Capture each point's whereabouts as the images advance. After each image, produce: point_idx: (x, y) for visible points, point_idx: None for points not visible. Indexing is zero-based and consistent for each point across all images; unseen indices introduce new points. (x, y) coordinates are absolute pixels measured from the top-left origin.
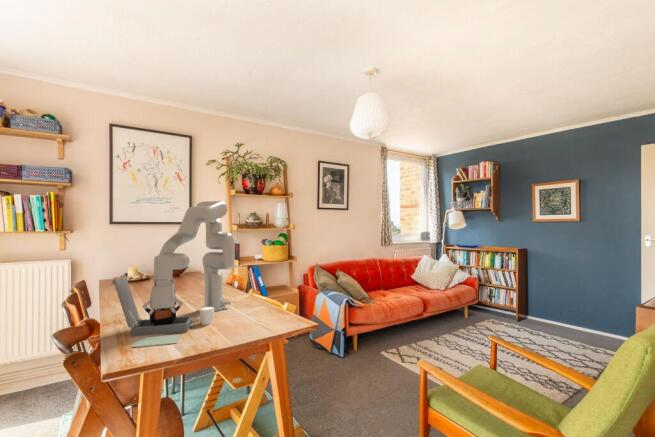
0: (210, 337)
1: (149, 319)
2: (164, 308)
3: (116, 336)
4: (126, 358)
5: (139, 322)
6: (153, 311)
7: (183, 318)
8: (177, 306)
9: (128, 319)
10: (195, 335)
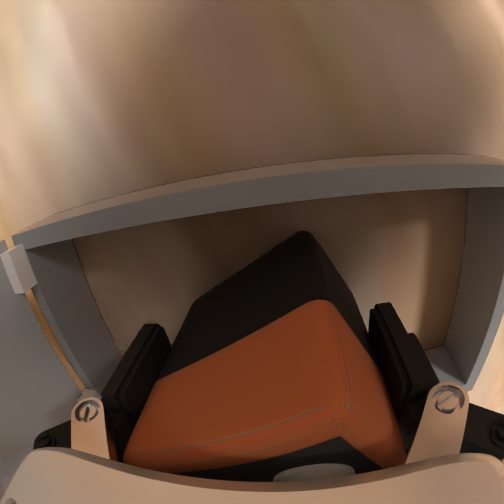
0: (500, 400)
1: (65, 229)
2: (260, 475)
3: (57, 350)
4: None
5: (47, 298)
6: (111, 430)
7: (459, 185)
8: (489, 452)
9: None
10: (468, 392)
